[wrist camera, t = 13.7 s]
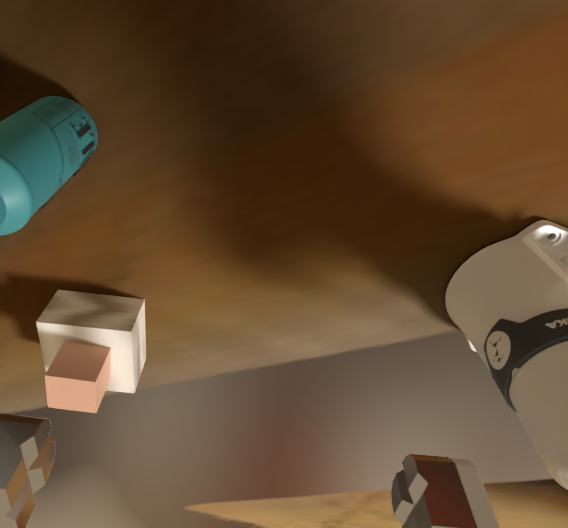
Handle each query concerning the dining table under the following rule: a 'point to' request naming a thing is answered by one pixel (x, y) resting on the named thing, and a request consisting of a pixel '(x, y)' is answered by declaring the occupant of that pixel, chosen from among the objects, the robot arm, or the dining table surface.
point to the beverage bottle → (40, 155)
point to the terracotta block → (78, 377)
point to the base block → (98, 331)
